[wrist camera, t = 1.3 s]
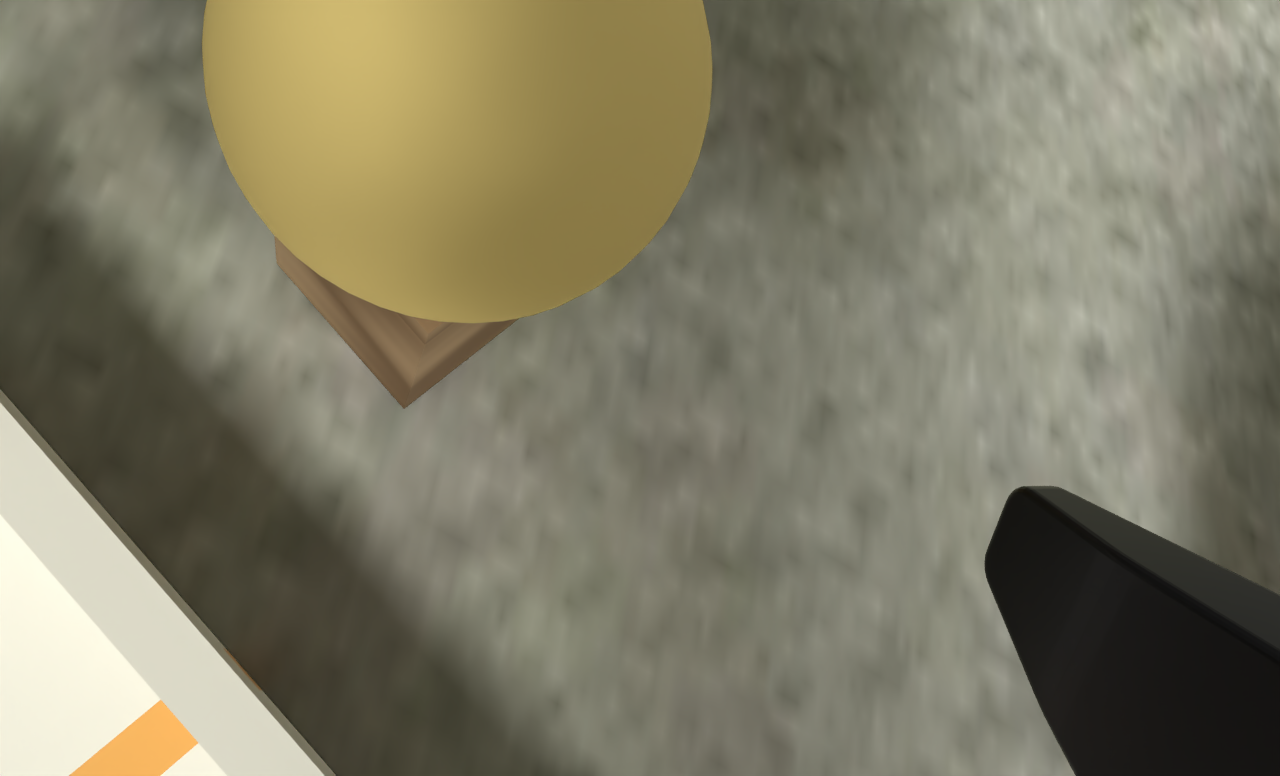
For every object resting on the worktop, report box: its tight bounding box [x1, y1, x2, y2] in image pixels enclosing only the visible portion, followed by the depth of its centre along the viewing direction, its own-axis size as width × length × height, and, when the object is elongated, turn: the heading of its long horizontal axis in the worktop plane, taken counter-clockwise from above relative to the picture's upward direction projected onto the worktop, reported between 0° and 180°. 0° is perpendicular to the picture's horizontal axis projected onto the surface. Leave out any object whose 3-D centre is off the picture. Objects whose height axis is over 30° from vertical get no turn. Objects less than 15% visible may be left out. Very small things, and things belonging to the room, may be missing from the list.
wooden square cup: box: [275, 236, 519, 409], centre depth 21 cm, size 4×4×5 cm
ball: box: [202, 0, 712, 323], centre depth 15 cm, size 7×7×7 cm
